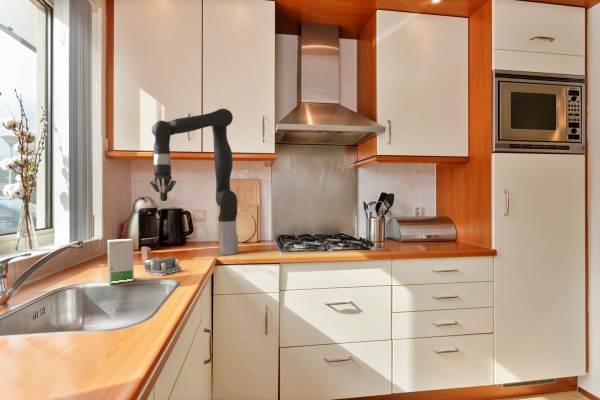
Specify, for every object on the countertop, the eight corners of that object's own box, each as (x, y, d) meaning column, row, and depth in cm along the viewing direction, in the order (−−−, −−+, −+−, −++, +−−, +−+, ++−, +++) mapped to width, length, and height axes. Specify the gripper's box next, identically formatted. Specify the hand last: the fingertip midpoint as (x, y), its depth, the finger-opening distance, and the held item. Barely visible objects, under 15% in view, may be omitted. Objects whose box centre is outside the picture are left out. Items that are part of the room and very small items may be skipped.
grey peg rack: (161, 265, 146) (161, 249, 146) (146, 267, 143) (146, 250, 142) (150, 261, 157) (150, 245, 157) (136, 263, 153) (136, 247, 153)
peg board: (168, 268, 148) (168, 258, 147) (181, 270, 144) (181, 259, 144) (148, 274, 139) (148, 262, 139) (161, 275, 135) (161, 264, 135)
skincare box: (109, 285, 123) (107, 241, 123) (107, 281, 129) (106, 240, 128) (135, 281, 128) (133, 239, 127) (132, 277, 133) (130, 237, 133)
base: (153, 267, 151) (153, 263, 151) (162, 268, 148) (161, 264, 148) (142, 270, 146) (141, 265, 146) (150, 271, 143) (150, 266, 143)
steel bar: (169, 266, 145) (169, 256, 145) (175, 267, 144) (175, 257, 144) (153, 270, 138) (153, 260, 138) (159, 271, 137) (159, 261, 137)
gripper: (179, 164, 164) (180, 200, 164) (155, 165, 167) (156, 201, 167) (170, 163, 157) (171, 200, 157) (144, 164, 160) (146, 201, 160)
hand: (163, 201), depth 162 cm, fingers closed
